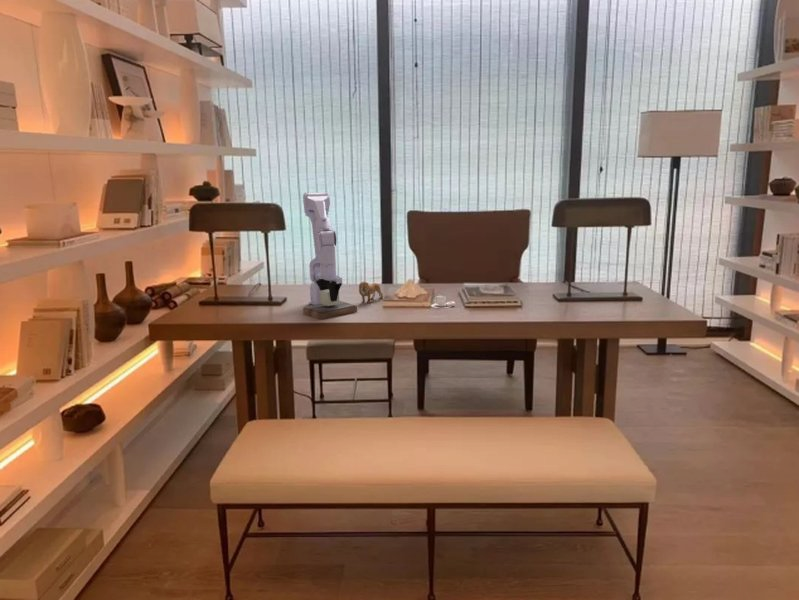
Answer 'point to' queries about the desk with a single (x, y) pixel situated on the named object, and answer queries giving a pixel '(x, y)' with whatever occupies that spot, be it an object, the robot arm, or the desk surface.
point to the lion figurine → (369, 291)
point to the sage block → (327, 298)
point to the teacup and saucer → (442, 302)
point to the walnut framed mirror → (329, 310)
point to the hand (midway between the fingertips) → (329, 299)
